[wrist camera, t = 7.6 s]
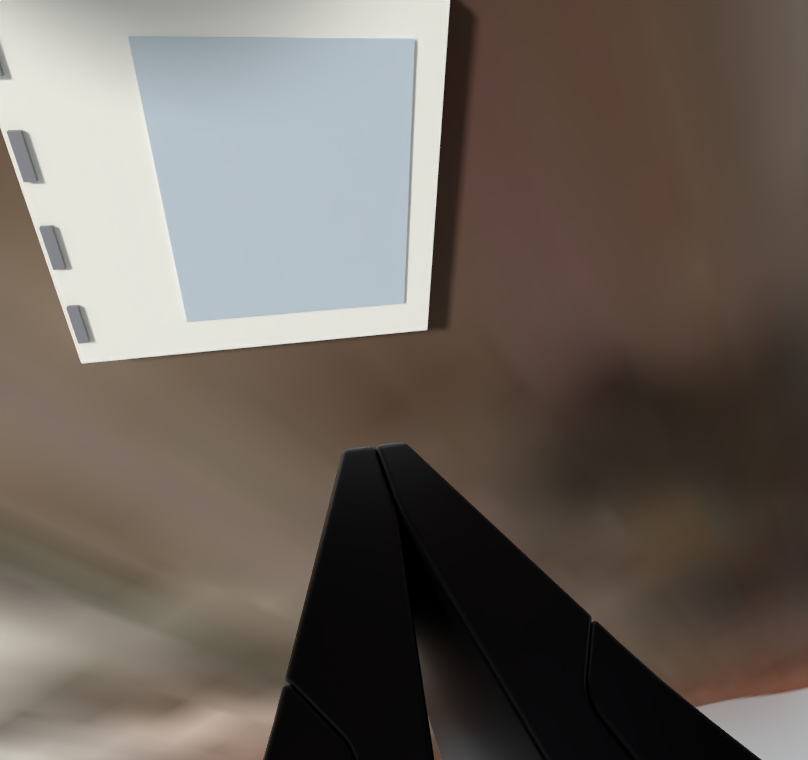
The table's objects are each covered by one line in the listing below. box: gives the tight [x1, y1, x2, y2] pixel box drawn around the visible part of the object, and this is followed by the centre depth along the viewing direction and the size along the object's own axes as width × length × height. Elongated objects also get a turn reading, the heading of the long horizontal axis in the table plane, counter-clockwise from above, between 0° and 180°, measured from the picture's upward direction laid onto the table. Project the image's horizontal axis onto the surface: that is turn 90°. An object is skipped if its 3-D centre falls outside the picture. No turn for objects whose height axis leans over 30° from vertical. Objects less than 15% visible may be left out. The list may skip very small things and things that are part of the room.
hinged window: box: [0, 0, 450, 363], centre depth 17 cm, size 11×10×1 cm
